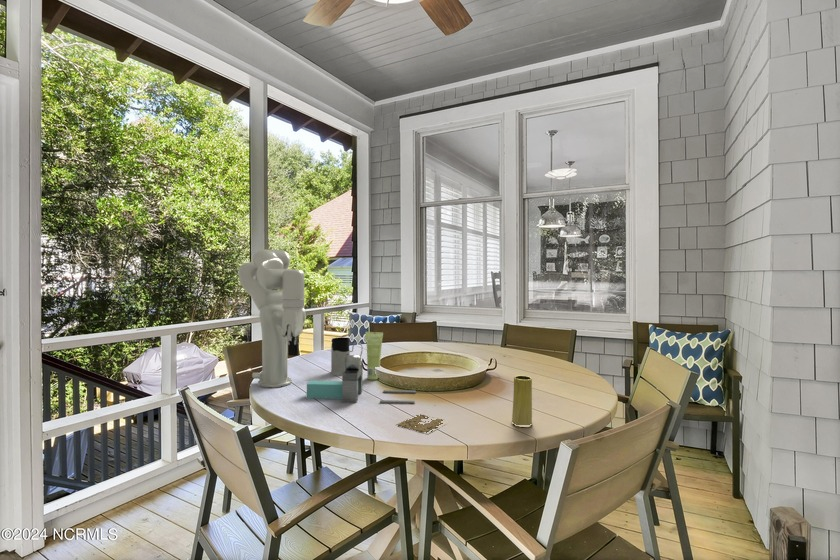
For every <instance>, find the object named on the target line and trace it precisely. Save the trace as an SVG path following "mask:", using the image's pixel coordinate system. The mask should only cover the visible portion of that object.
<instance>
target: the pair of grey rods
mask: <svg viewBox="0 0 840 560" xmlns="http://www.w3.org/2000/svg"><path fill="white" fill-rule="evenodd" d="M416 392H417V391H416V390H407V389H406V390H399V389H397V390H396V389H394V390H393V389H384V390H383V393H384V394H416ZM393 403H396V404H397V403H400V405H402V404H404V403H405V404H406V403H415V404H416V402H415V400H398V399H397V400H395V399H394V400H389V399H387V400H386V399H385V400H384V399H380V400H379V404H393ZM396 404H395V405H396ZM406 405H407V404H406Z"/></svg>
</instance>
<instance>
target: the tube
mask: <svg viewBox="0 0 840 560" xmlns="http://www.w3.org/2000/svg"><path fill="white" fill-rule="evenodd" d="M364 335H365V340H366V360H367V361H366V362H367V363H366V367H367V371H366V372H367V379H368V380H372V381H373V380H375V381H376V380H378V379H377V377H376V374H375V371H374V368H375V367H380V368H381V358H382V357H381V356H382V355H381V354H382V344H383V338H384V332H382V331H381V332H378V331H377V332H376V331H375V332H374V331H365V334H364Z"/></svg>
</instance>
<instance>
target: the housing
mask: <svg viewBox="0 0 840 560" xmlns="http://www.w3.org/2000/svg"><path fill="white" fill-rule="evenodd" d="M360 355H361V354H356V355H355V354H350V355H346V356H345V369H346V370H345V371H344V372H343V373H342V375H341V377H342V378H341V380H342V399H341V402H342V403H358V401H359V395H361V394H362V393H363V371H364V370H363V365H362V355H361V356H360Z"/></svg>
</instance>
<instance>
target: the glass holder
mask: <svg viewBox="0 0 840 560" xmlns="http://www.w3.org/2000/svg"><path fill="white" fill-rule="evenodd" d="M356 344H359V345H360V347H361V349H360V350H361V351H360V354H359V355H360V356H361V357H362V354H363V344H362V343H361V342H354V343H353V344H352V350H350V338H349V337H344V336H342V337H341V336H339V337H332V338H331V347H330V348H331V349H330V350H331V352H330V353H331V361H330V362H331V363H330V364H331V365H330V367H331V369H330V375H331V374H332V376H341V377H342V373H343V372H344V371H345V370H346V369H345V356H346V355H351V354H350V353H352V352H354V347H355V345H356Z"/></svg>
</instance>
